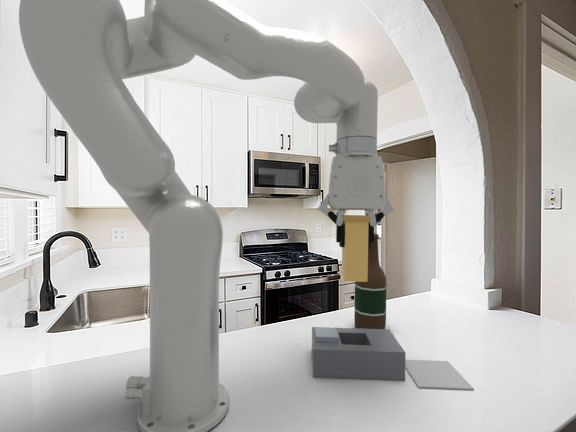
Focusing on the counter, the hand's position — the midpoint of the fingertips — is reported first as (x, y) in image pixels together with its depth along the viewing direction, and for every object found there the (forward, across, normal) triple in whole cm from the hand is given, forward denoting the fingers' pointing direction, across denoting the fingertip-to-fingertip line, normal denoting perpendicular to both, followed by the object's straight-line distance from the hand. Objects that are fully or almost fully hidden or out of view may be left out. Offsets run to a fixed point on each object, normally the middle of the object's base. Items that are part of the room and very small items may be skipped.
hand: (354, 245), depth 56 cm
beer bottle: (+23, +7, +18) cm, 30 cm away
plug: (+6, 0, 0) cm, 6 cm away
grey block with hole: (+23, 0, 0) cm, 23 cm away
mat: (+23, +14, -2) cm, 27 cm away
